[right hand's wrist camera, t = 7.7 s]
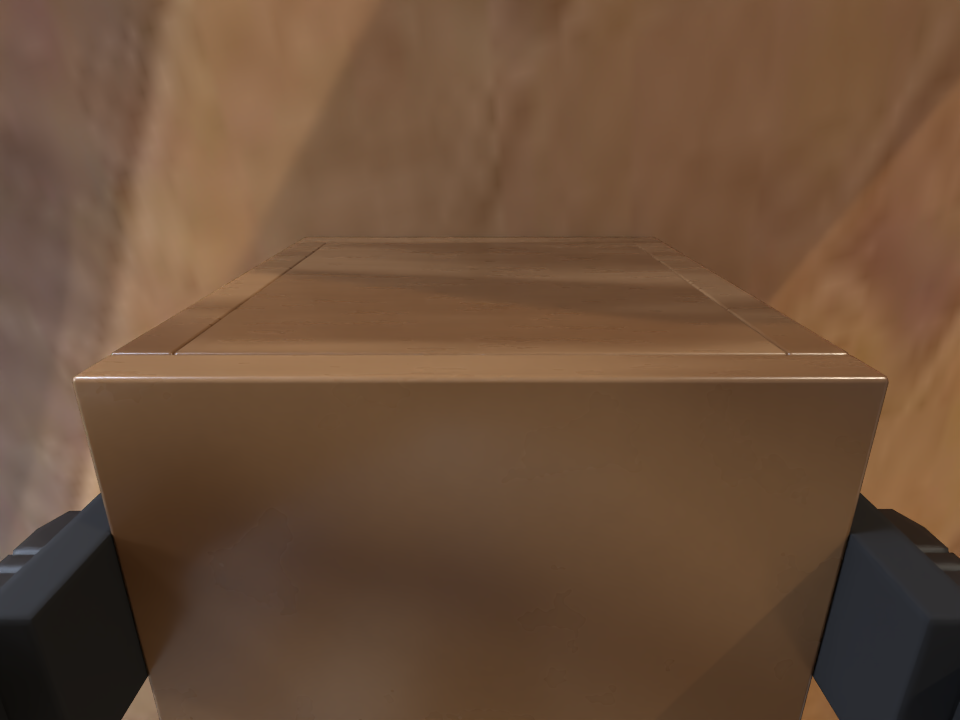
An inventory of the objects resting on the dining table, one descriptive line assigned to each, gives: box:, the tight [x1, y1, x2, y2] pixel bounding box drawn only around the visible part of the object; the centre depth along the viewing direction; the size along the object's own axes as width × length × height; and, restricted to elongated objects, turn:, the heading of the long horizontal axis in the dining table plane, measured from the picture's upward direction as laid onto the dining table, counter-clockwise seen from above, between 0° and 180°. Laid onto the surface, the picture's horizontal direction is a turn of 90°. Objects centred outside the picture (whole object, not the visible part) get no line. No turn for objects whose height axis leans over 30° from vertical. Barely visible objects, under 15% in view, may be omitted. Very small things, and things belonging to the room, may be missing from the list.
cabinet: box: [72, 237, 888, 720], centre depth 17 cm, size 22×10×11 cm, turn 0°
